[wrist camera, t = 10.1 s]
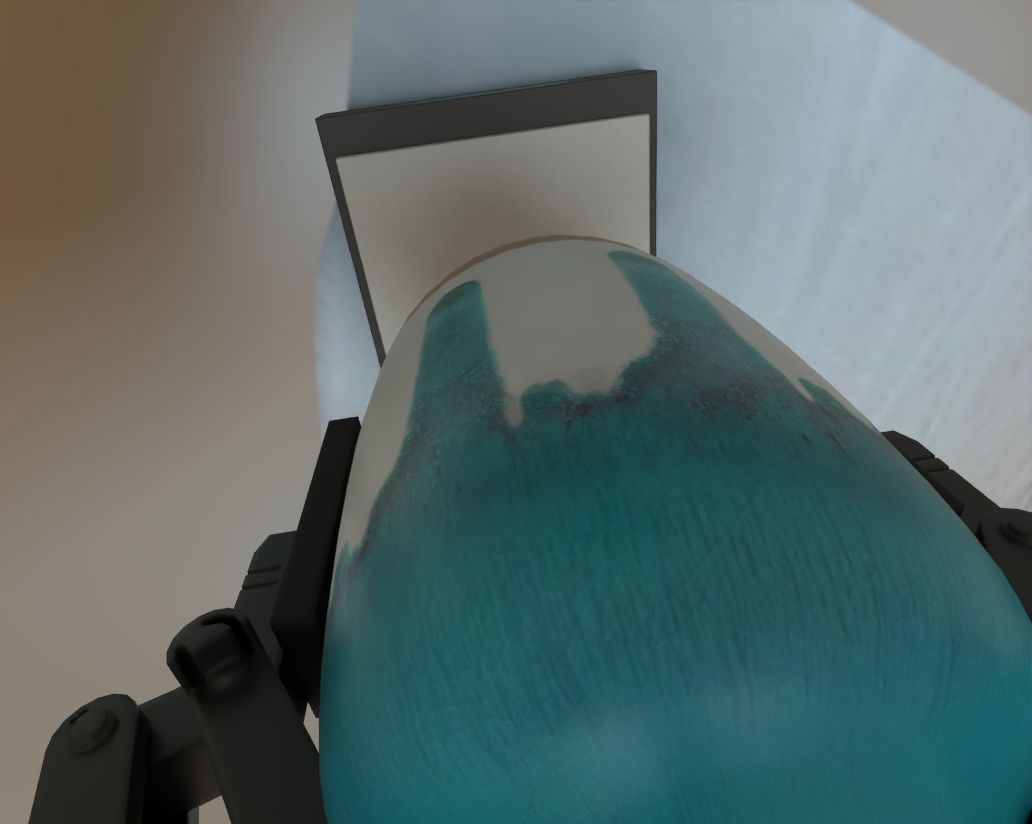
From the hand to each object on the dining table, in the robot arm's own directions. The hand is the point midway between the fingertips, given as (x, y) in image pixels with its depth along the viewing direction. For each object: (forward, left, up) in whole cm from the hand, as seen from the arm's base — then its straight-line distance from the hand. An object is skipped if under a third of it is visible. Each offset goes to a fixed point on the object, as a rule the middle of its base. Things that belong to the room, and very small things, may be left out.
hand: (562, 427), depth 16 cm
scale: (0, 0, -16) cm, 16 cm away
